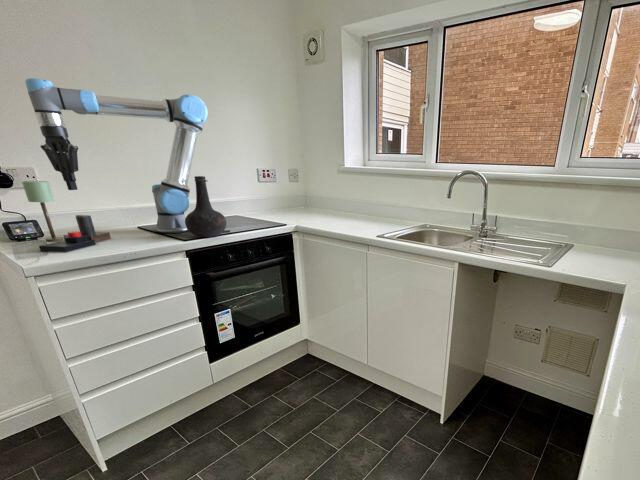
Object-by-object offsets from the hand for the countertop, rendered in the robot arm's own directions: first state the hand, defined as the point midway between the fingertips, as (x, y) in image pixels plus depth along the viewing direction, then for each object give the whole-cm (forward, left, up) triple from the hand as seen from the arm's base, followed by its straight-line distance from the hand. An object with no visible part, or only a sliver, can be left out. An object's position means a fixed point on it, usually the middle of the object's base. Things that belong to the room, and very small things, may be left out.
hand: (73, 189), depth 143 cm
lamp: (0, +14, -18) cm, 23 cm away
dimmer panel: (+4, -5, -22) cm, 23 cm away
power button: (0, +5, -19) cm, 19 cm away
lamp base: (0, +9, -22) cm, 24 cm away
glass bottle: (-40, -24, -22) cm, 51 cm away
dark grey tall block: (+2, -3, -19) cm, 19 cm away
